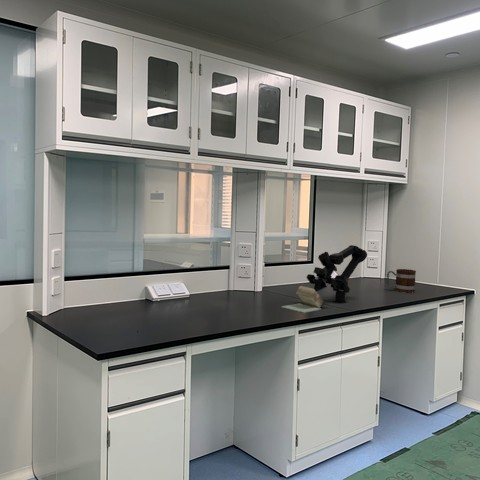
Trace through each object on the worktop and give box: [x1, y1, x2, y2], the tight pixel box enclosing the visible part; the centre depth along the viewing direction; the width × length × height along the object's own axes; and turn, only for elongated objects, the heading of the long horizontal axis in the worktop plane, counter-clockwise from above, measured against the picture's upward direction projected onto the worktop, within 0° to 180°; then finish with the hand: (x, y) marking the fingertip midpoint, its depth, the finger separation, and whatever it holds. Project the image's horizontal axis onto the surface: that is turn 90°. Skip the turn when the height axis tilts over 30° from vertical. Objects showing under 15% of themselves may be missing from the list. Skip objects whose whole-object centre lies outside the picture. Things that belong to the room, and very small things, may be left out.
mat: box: [281, 303, 322, 314], centre depth 263 cm, size 15×16×1 cm
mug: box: [386, 268, 417, 294], centre depth 333 cm, size 20×14×15 cm
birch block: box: [295, 285, 324, 309], centre depth 267 cm, size 5×10×12 cm
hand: (314, 291), depth 269 cm, fingers closed
